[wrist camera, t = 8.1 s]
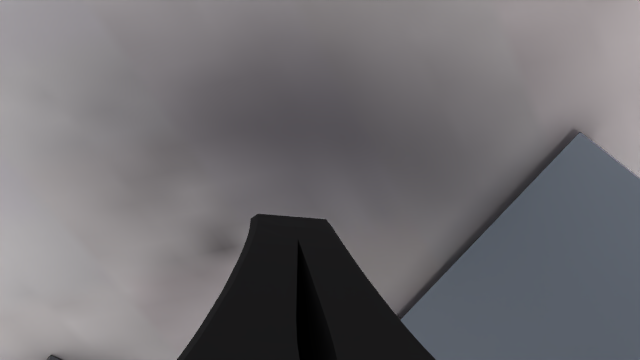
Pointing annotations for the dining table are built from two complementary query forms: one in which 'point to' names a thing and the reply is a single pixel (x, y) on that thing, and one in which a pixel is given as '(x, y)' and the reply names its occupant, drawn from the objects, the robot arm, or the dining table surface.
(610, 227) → the side door
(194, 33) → the dining table surface
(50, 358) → the box
